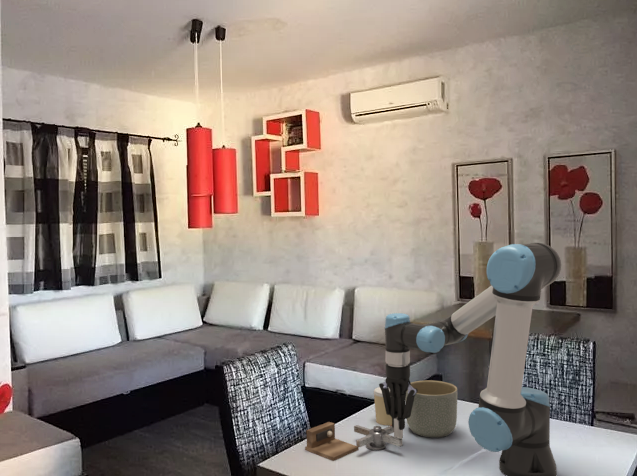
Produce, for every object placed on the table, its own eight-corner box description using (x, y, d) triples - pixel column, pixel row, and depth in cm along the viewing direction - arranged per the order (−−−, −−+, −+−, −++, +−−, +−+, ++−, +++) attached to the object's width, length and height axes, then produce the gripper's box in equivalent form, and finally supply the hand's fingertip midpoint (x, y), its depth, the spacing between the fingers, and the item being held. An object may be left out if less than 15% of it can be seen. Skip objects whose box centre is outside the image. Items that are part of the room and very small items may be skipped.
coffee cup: (400, 429, 198) (399, 394, 197) (372, 428, 200) (372, 393, 199) (402, 420, 207) (401, 386, 207) (375, 418, 209) (375, 385, 208)
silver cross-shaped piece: (419, 446, 181) (419, 426, 181) (382, 464, 168) (381, 443, 168) (374, 431, 194) (374, 413, 193) (336, 447, 181) (335, 428, 181)
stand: (398, 450, 181) (398, 427, 180) (352, 471, 166) (352, 447, 166) (351, 434, 195) (350, 413, 194) (305, 453, 180) (304, 430, 180)
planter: (403, 441, 188) (402, 393, 187) (408, 422, 204) (407, 379, 204) (457, 445, 184) (457, 396, 183) (458, 426, 200) (457, 381, 200)
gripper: (422, 364, 181) (423, 440, 182) (387, 358, 189) (387, 430, 190) (409, 369, 175) (410, 447, 176) (373, 363, 184) (374, 437, 184)
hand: (398, 438), depth 183 cm, fingers closed
